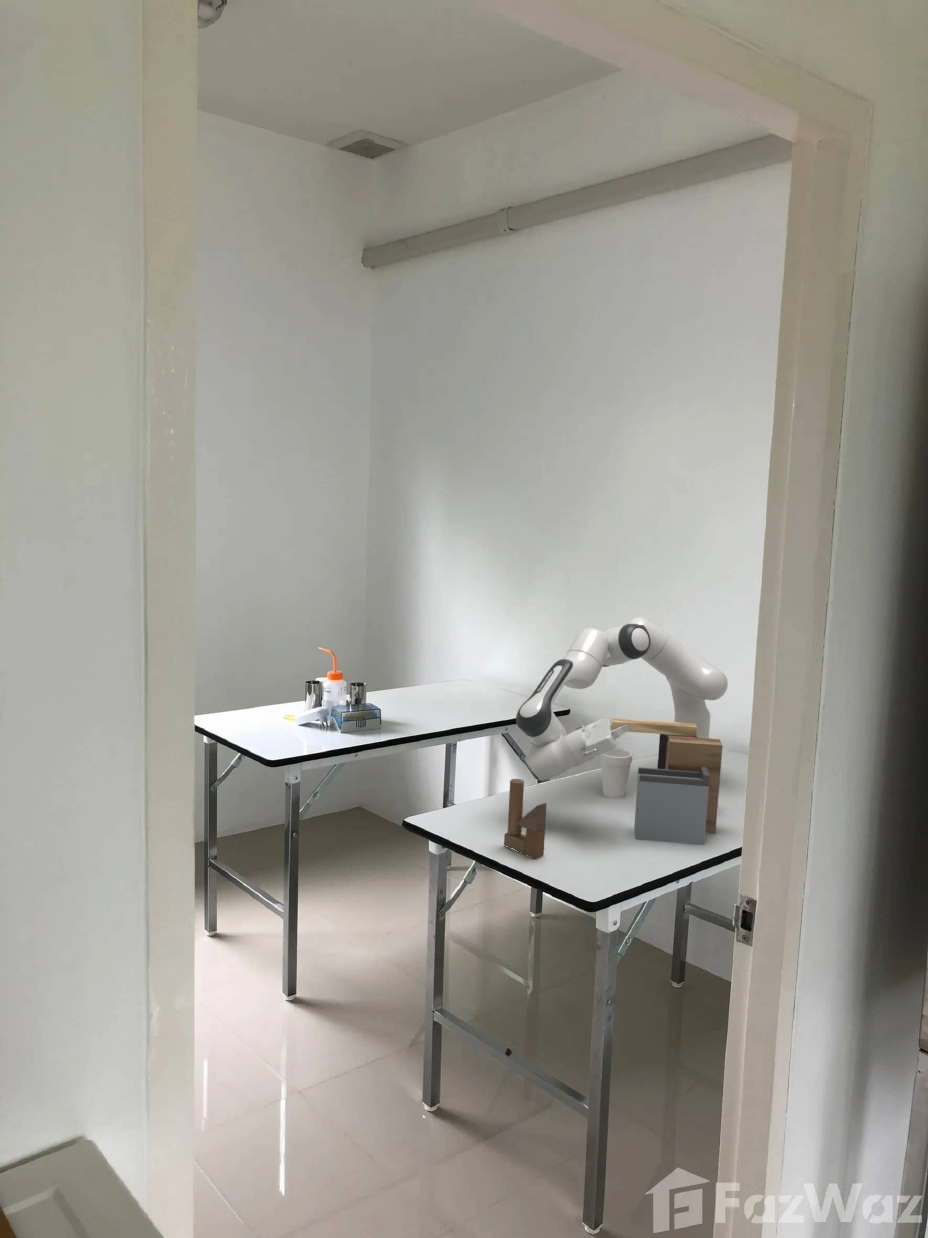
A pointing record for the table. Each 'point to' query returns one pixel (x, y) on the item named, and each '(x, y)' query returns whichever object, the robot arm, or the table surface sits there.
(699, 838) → the grey box
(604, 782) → the foam cup
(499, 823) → the table surface
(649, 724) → the slat
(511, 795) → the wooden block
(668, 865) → the table surface
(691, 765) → the brown wooden plank
